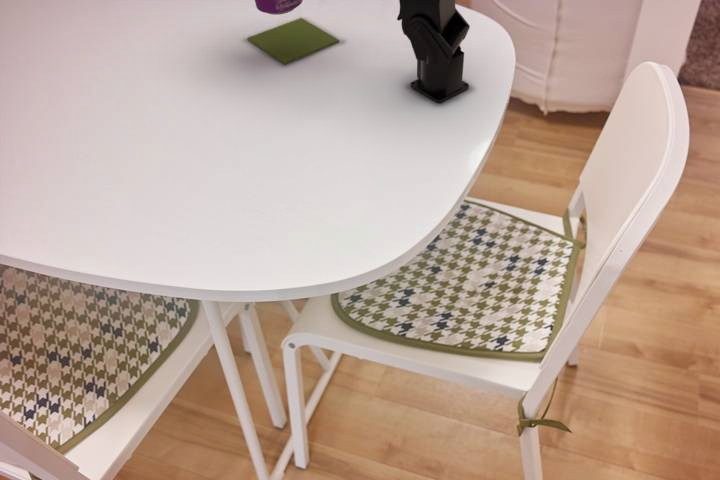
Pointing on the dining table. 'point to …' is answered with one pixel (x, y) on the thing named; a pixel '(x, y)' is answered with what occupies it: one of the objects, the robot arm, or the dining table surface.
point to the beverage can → (277, 6)
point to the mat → (293, 40)
